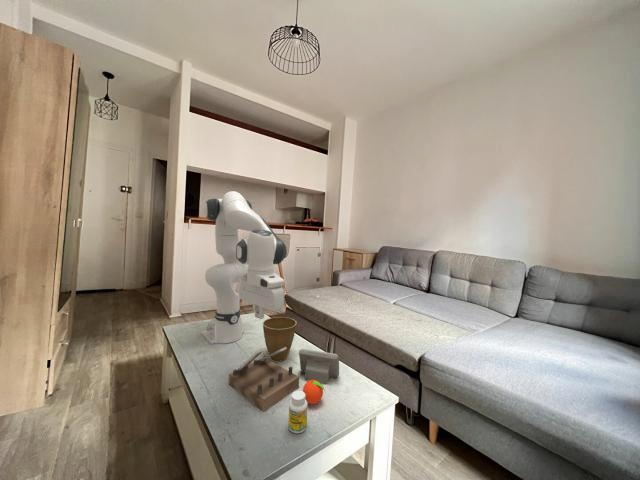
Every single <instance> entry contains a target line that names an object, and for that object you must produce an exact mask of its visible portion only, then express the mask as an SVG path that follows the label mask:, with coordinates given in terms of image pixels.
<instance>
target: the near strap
mask: <svg viewBox="0 0 640 480" xmlns="http://www.w3.org/2000/svg"><path fill="white" fill-rule="evenodd" d="M264 351H265V348H260V349H258V350H256V351H254V353H253V354H251V356H250V357H248V359H247V360H245V362H244V363H243V364H241V365H240V367H239V368H238V369H236V370H237V373H238V372H240V371H242V370H244V369H245V368H246V367H247V366H248V365H249V364H251V363H253V362H254V360H257V358H258V357H259V356H260V355H261V354H262V353H263V352H264Z"/></svg>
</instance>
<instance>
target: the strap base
mask: <svg viewBox="0 0 640 480" xmlns="http://www.w3.org/2000/svg"><path fill="white" fill-rule="evenodd" d="M266 356H267V355H265V354H264V355H263V357H261V358H259V359H255V360H254V361H253V362H251V363H250V364H249V365H248V366H247V367H246V368H245V369H244V370H242V371H240V372H238V373H237V370H238V369H236V368H235V369H233V370H232V372H229V373H228V385H229V386H230V387H231V388H233V389H234V390H235V391H236V392H238V393H239V394H241V395H242V396H243V397H244V398H245V399H246V400H248V401H249V402H250V403H252V404H253V405H254V406H255V407H257V408H258V409H259V410H261V412H265V411H266V410H268V409H270V408H271V407H273V406H274V405H275V404H277V403H278V402H279V401H281V400H283V399H284V398H286V396H288V395H289V394H292V393H293V392H295V391H297V389H298V388H299V387H300V385H299V384H300V376H299V375H296V373H293V369H294V367H293V366H291V365H290V366H288V369H286V368H285V367H282V366H281V365H279V364H277V362H275V361H272V360H271V359H270V358H267V359H265V360H263V361H260V362H258V360H260V359H262V358H264V357H266Z"/></svg>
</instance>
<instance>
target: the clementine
mask: <svg viewBox="0 0 640 480" xmlns="http://www.w3.org/2000/svg"><path fill="white" fill-rule="evenodd" d="M302 391H303V392H304V393H305V400H306V401H307V404H311V405H315V404H317V403H319V402H320V401H321V400H322V398H323V395H324V392H325V393H326V390H325V388H324V386H323V385H322V383H319V382H318V381H316V380H310V381H307V382H306V383H305V384H304V385H303V388H302Z"/></svg>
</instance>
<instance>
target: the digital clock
mask: <svg viewBox="0 0 640 480" xmlns="http://www.w3.org/2000/svg"><path fill="white" fill-rule="evenodd" d="M298 357H299V365H300V366H299V367H300V371H301V372H302V373H304V375H305V376H304V381H307V382H308V381H310V380H316V381H318V382H319V383H320V384H324V385H328V384H329V380H330V378H335V379H336V378H337V379H338V377H339V375H340V357H339V355H338V354H336V353H332V352H327V351H326V352H325V351H318V350H314V349H313V350H312V349H306V348H302V349H299V351H298Z"/></svg>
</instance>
